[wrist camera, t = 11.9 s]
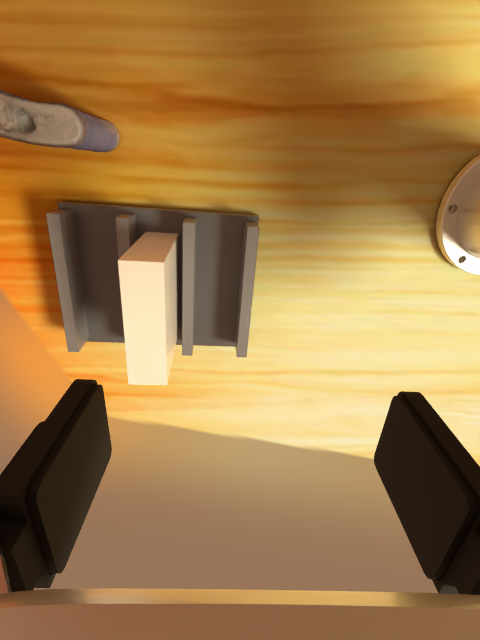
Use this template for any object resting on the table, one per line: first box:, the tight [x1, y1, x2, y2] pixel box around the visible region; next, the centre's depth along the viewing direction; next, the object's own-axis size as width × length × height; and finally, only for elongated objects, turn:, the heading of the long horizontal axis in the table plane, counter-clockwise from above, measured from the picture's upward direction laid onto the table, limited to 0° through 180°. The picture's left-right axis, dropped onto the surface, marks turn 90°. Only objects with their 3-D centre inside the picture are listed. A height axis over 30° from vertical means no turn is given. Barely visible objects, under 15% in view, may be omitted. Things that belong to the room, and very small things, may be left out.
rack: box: [46, 201, 259, 357], centre depth 33 cm, size 18×14×4 cm
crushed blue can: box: [0, 90, 119, 152], centre depth 23 cm, size 9×3×11 cm, turn 76°
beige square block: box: [118, 232, 179, 385], centre depth 29 cm, size 3×10×10 cm, turn 176°
